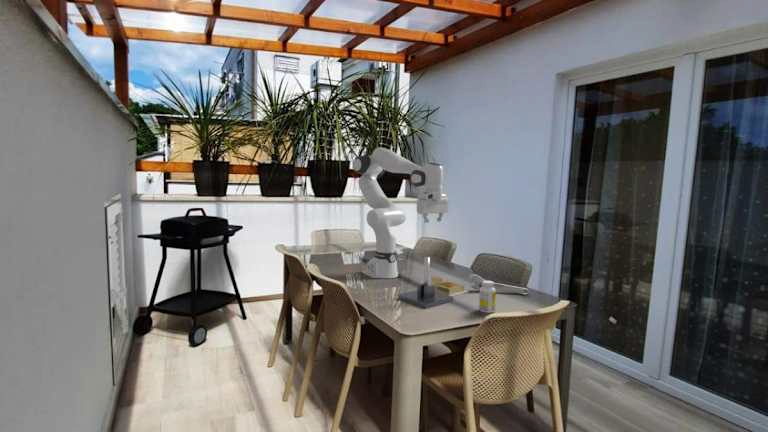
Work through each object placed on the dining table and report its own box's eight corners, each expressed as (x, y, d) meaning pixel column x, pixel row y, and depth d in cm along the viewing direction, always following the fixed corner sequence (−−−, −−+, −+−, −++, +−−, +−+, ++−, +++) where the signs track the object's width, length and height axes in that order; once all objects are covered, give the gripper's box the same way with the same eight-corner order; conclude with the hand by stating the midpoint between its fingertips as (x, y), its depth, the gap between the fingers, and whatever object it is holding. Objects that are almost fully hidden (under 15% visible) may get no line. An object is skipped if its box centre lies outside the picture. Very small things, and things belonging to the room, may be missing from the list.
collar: (425, 287, 213) (425, 278, 212) (440, 284, 219) (440, 274, 219) (449, 295, 200) (449, 284, 200) (464, 291, 207) (464, 281, 207)
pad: (422, 290, 210) (422, 288, 210) (444, 285, 221) (444, 283, 221) (446, 298, 198) (446, 296, 198) (468, 292, 208) (468, 290, 208)
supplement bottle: (492, 308, 184) (493, 279, 183) (496, 313, 177) (498, 283, 176) (477, 308, 184) (478, 279, 182) (481, 313, 177) (482, 283, 176)
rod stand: (398, 298, 196) (399, 256, 194) (425, 292, 207) (426, 252, 205) (426, 308, 182) (427, 263, 180) (453, 300, 194) (454, 258, 192)
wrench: (527, 300, 206) (466, 289, 212) (527, 299, 208) (466, 288, 214) (530, 285, 205) (468, 273, 211) (530, 284, 207) (468, 273, 213)
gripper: (443, 194, 221) (442, 220, 223) (415, 195, 208) (414, 222, 209) (452, 194, 216) (451, 221, 218) (424, 195, 203) (423, 223, 205)
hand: (432, 222), depth 213 cm, fingers open, 8 cm apart
